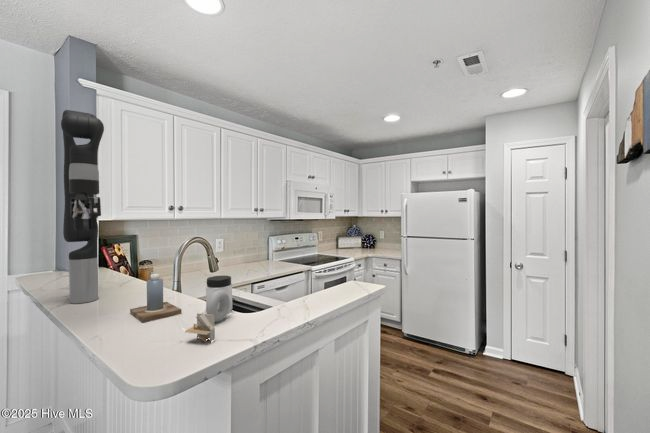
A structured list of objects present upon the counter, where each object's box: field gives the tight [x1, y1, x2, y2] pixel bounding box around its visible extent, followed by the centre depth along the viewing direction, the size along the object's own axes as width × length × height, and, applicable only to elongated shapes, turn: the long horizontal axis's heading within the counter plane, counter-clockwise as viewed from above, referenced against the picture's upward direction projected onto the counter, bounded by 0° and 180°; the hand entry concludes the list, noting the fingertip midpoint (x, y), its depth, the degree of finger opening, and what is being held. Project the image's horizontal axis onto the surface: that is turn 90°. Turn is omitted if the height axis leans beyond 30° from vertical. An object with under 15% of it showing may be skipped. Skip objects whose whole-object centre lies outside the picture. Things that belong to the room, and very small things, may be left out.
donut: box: [205, 290, 230, 323], centre depth 98 cm, size 10×4×10 cm, turn 163°
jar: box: [205, 275, 233, 314], centre depth 108 cm, size 9×8×12 cm
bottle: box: [146, 273, 164, 311], centre depth 107 cm, size 5×5×12 cm
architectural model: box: [184, 312, 216, 342], centre depth 83 cm, size 3×7×7 cm, turn 73°
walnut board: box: [129, 301, 182, 323], centre depth 107 cm, size 14×12×2 cm
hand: (85, 230), depth 97 cm, fingers open, 8 cm apart
